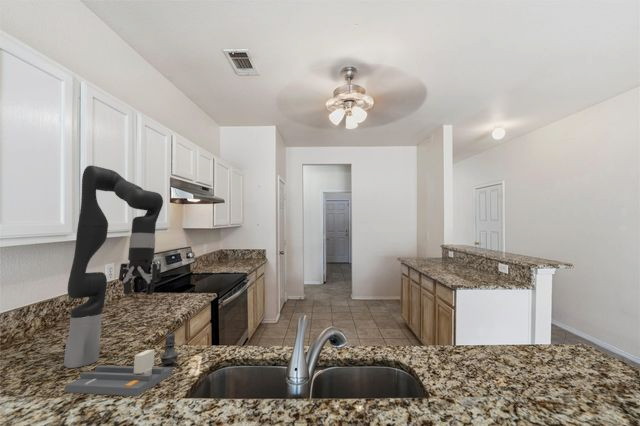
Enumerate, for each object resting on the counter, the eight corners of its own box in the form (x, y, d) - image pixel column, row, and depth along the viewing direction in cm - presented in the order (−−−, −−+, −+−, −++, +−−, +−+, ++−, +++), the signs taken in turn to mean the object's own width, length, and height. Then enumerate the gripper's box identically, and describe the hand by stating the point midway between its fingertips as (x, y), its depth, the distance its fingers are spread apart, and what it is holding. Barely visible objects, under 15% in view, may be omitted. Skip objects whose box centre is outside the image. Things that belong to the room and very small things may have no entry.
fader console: (65, 392, 79) (66, 379, 79) (109, 371, 93) (110, 360, 93) (137, 396, 75) (138, 382, 76) (172, 373, 89) (172, 362, 89)
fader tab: (132, 379, 81) (134, 355, 82) (145, 372, 86) (146, 349, 87) (141, 380, 80) (142, 355, 81) (154, 372, 85) (155, 349, 86)
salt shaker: (170, 369, 92) (171, 332, 94) (155, 369, 93) (157, 332, 95) (182, 363, 98) (183, 328, 100) (167, 362, 99) (169, 328, 101)
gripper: (115, 246, 92) (110, 295, 90) (152, 246, 90) (148, 296, 88) (133, 246, 99) (129, 292, 97) (168, 246, 97) (164, 293, 95)
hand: (138, 294), depth 92 cm, fingers open, 8 cm apart
